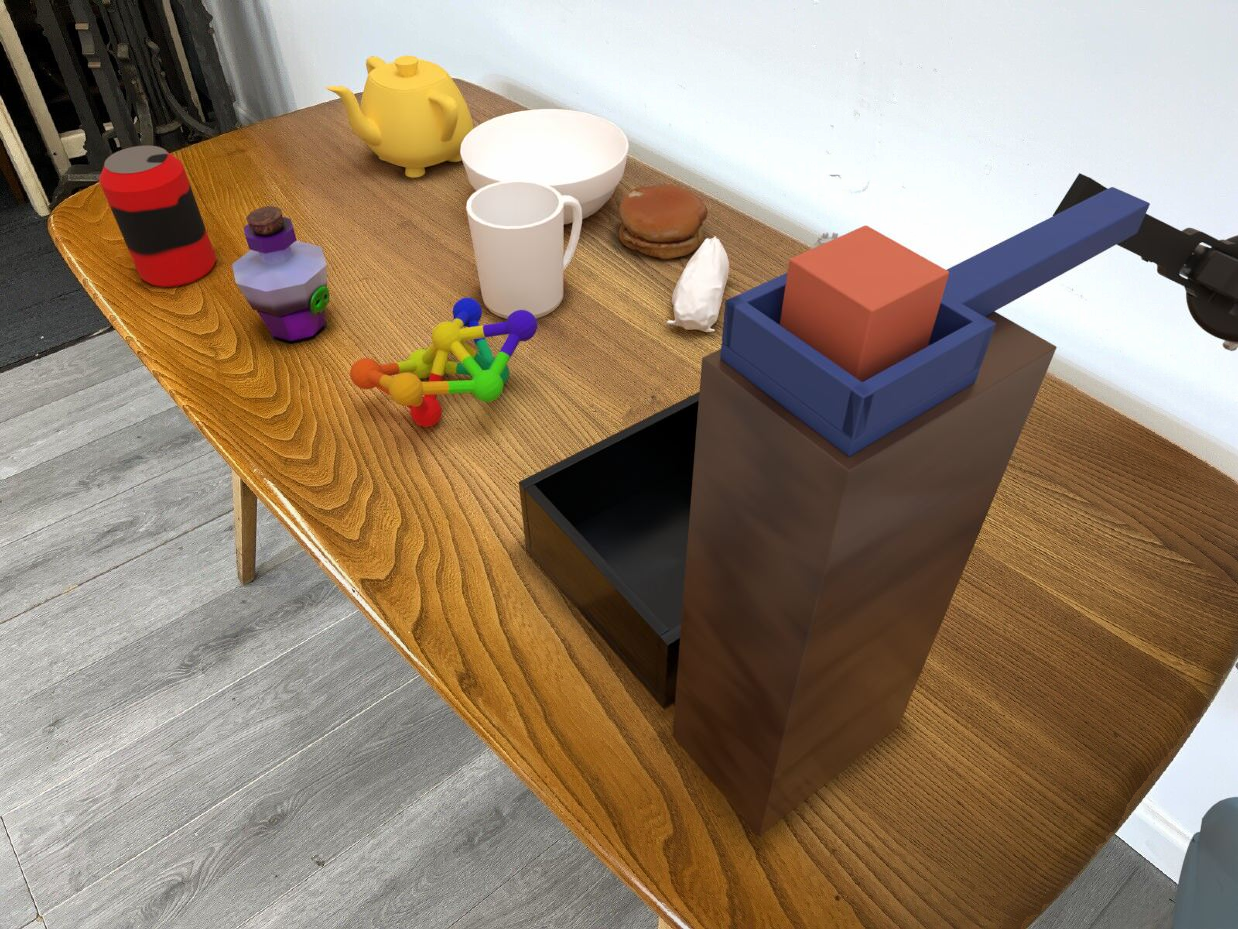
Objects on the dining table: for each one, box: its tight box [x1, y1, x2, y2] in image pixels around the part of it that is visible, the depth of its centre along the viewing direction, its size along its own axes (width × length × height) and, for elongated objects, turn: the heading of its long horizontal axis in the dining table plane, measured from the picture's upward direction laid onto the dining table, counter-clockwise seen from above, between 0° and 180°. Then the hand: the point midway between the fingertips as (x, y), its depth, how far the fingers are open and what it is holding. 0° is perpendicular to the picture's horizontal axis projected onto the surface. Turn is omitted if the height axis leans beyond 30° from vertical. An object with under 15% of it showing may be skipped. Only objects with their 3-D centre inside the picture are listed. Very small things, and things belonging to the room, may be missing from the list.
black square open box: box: [518, 391, 700, 711], centre depth 65 cm, size 17×17×7 cm
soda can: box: [98, 145, 217, 288], centre depth 91 cm, size 8×8×12 cm
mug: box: [465, 180, 583, 320], centre depth 88 cm, size 11×9×10 cm
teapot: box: [325, 55, 474, 178], centre depth 109 cm, size 14×14×12 cm
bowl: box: [460, 108, 630, 225], centre depth 102 cm, size 18×18×7 cm
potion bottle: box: [231, 205, 331, 345], centre depth 84 cm, size 9×9×12 cm
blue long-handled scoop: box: [720, 186, 1151, 456], centre depth 38 cm, size 7×22×3 cm, turn 126°
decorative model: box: [349, 297, 538, 428], centre depth 78 cm, size 13×9×15 cm
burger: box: [618, 184, 708, 260], centre depth 98 cm, size 10×9×5 cm
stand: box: [672, 311, 1058, 837], centre depth 47 cm, size 8×12×30 cm, turn 126°
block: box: [780, 225, 949, 382], centre depth 34 cm, size 4×4×4 cm
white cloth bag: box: [666, 235, 730, 333], centre depth 89 cm, size 5×7×10 cm
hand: (1179, 247), depth 50 cm, fingers open, 13 cm apart
